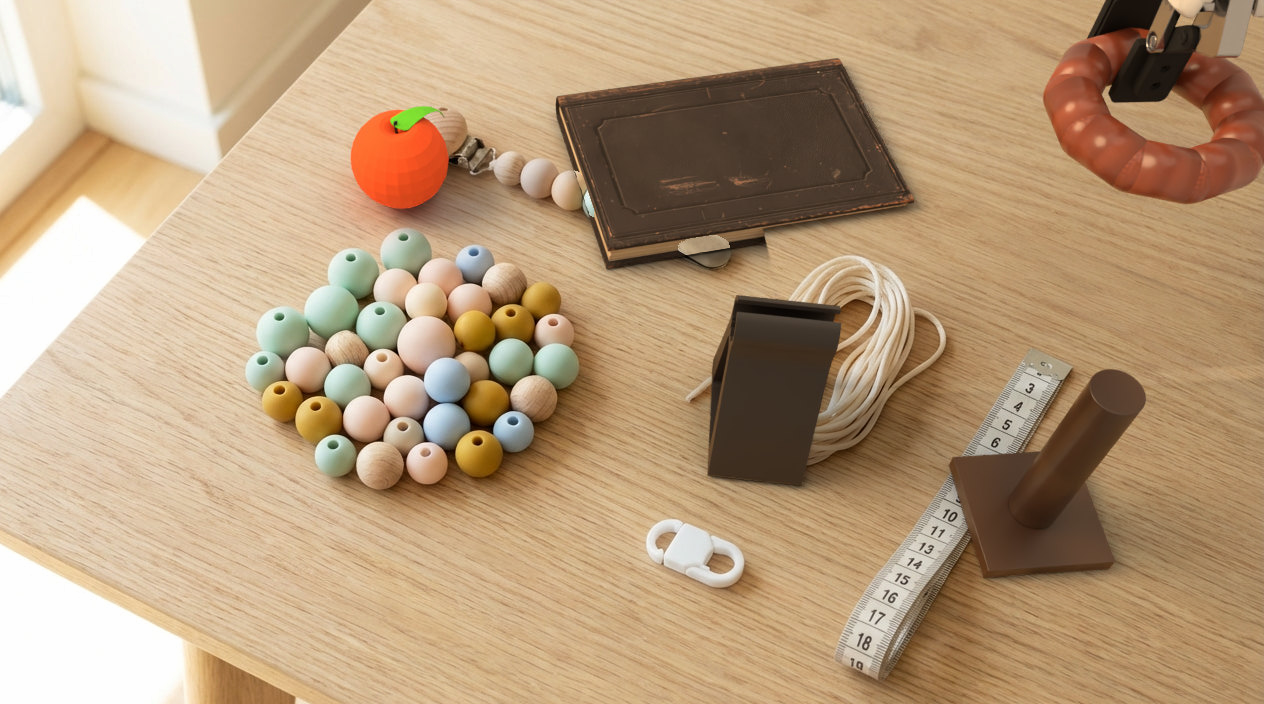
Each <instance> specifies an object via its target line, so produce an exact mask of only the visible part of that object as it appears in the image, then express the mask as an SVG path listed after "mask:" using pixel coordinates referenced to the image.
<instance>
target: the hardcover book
mask: <svg viewBox="0 0 1264 704" xmlns="http://www.w3.org/2000/svg"><path fill="white" fill-rule="evenodd" d="M555 115H556V120H557V124H558V126H559V129H560V132H561V135H562V136H561V137H562V139H563V141H564V144H565V148H566V151H567V153H568V156H569V160H570V163H571V167H572V169H573V171H574V170H575V171H578V172H580V173H581V175H582V176H583V178H584V181H585V184H586V187H587V190H588V193H589V196H590V199H591V202H592V205H593V208H594V211H595V212H594V214H595V215H594V216H595V217H592V216H590V215H588V217H589V221H590V223H591V227H592V229H593V233H594V236H595V239H596V242H597V245H598V248H599V251H600V254H601V257H602V260H603V263H604V266H605V269H606V270H608V269H614V268H621V267H626V266H634V265H639V264H640V265H641V264H646V263H652V262H658V261H663V260H670V259H677V258H682V257H683V258H684V257H686V256H685V255H683V254H682V253H681V252H679V251H678V245H679V243H681V241H682V242H683V241H685V240H686V239H690V238H696V237H703V236H709V235H718V236H720V237H722V238H724V239H726V240H727V241H728V242H729V245H730V248H731V249H730V250H732V249H737V248H744V247H751V246H757V245H763V244H767V239H766V235H765V232H764V229H767V228H772V227H774V228H775V227H779V226H786V225H791V224H797V223H798V224H799V223H804V222H810V221H817V220H822V219H829V218H834V217H841V216H848V215H855V214H860V213H866V212H867V213H868V212H872V211H873V212H874V211H879V210H884V209H891V208H897V207H904V206H905V207H906V206H907V205H909V204H914V203H915V201H916V200H915V198H914V197H913V195H912V193H911V191H910V189H909V187H908V185H907V182H906V181H905V179H904V177H903V175H902V174H901V171H900V170H899V167H898V166H897V163H896V161H895V160H894V159H893V156H892V154H891V152H890V151H889V149H888V147H887V146H886V143H885V142H884V140H883V138H882V136H881V134H880V132H879V130H878V128H877V127H876V126H877V125H875V122H874V121H873V119H872V117H871V115H870V113H869V111H868V109H867V108H866V106H865V103H864V102H863V100H862V98H861V96H860V94H859V92H858V90H857V88H856V87H855V85H854V83H853V81H852V79H851V78H850V75H849V73H848V71H847V70H846V68H845V66H844V64H843V62H842V60H841V59H840V58H838V57H835V58H828V59H827V58H826V59H820V60H813V61H805V62H797V63H792V64H791V63H790V64H783V65H776V66H769V67H768V66H767V67H761V68H755V69H747V70H746V69H745V70H738V71H732V72H731V71H730V72H725V73H717V74H711V75H703V76H695V77H688V78H687V77H686V78H680V79H673V80H665V81H658V82H651V83H644V84H636V85H628V86H622V87H621V86H620V87H614V88H607V89H606V88H605V89H600V90H599V89H598V90H592V91H584V92H577V93H569V94H563V95H557V96H556V98H555Z"/></svg>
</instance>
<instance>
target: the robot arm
mask: <svg viewBox="0 0 1264 704" xmlns="http://www.w3.org/2000/svg"><path fill="white" fill-rule="evenodd" d="M1251 15H1252V17H1253V18H1264V0H1104V3H1103V5H1102V7H1101V8H1100V11H1099V13H1098V15H1097V17H1096V19H1095V21H1094V23H1093V25H1092V27H1091V28H1090V31H1089V32H1088V35H1087V37H1086V39H1089V38H1093V37H1096V36H1100V35H1103V34H1107V33H1111V32H1114V31H1118V30H1121V29H1125V28H1140V29H1145V30H1149V32H1148V34H1147V37H1146V38H1140V39H1136V41H1135V42H1134V44H1133V46H1132V48H1131V50H1130V52H1129V53H1128V55H1127V57H1126V59H1125V61H1124V63H1123V65H1122V67H1121V68H1120V70H1119V72H1118V74H1117V77H1116V79H1115V80H1114V82H1113V84H1112V85H1111V86H1109V90H1108V91H1107V94H1108V97H1109V99H1110V101H1111V102H1112V103H1114V104H1115V103H1116V104H1123V103H1124V104H1125V103H1129V104H1130V103H1159V102H1162V101H1164V100H1165V99H1167V98H1168V96H1169V95H1170V93H1171V92H1172V91H1171V90H1172V88H1173V86H1174V84H1175V83H1176V81H1177V79H1178V78H1179V76H1180V74H1181V73H1182V71H1183V69H1184V67H1185V66H1186V64H1187V62H1188V61H1189V59H1190V57H1191V56H1192V54H1193V52H1195V53H1198V54H1201V55H1204V56H1207V57H1210V58H1226V59H1236V58H1239V57H1240V56H1241V54H1242V52H1243V50H1244V45H1245V41H1246V37H1247V33H1248V30H1249V29H1248V28H1249V24H1250V19H1251ZM1181 16H1182V17H1183V18H1186V19H1192V18H1194V20H1193V22H1192V24H1185V25H1178V26H1177V24H1178V21H1179V20H1180V17H1181Z"/></svg>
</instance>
